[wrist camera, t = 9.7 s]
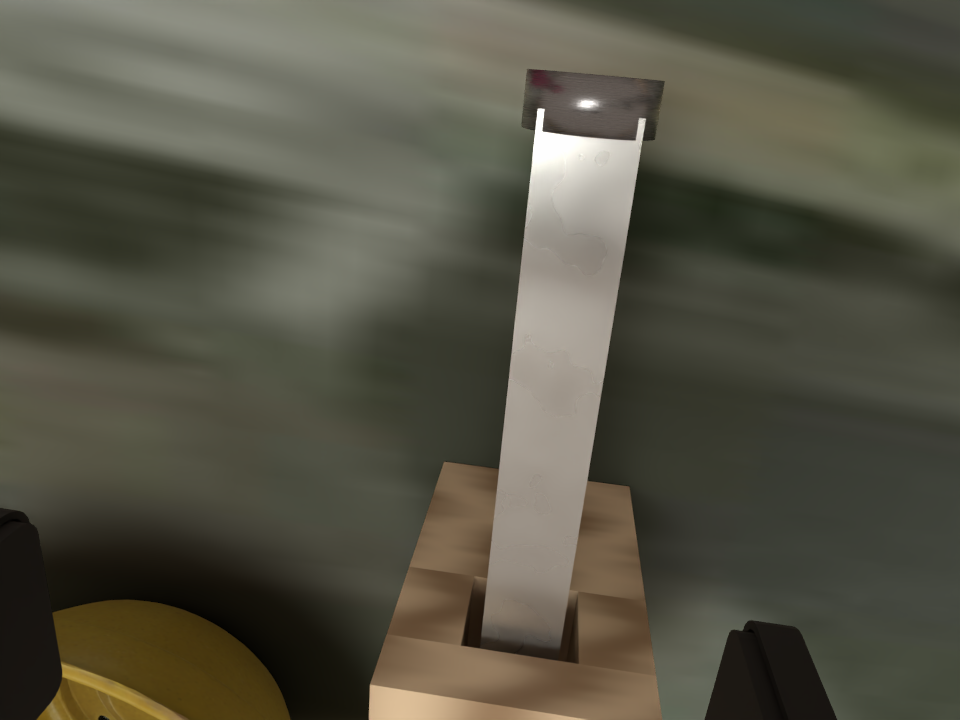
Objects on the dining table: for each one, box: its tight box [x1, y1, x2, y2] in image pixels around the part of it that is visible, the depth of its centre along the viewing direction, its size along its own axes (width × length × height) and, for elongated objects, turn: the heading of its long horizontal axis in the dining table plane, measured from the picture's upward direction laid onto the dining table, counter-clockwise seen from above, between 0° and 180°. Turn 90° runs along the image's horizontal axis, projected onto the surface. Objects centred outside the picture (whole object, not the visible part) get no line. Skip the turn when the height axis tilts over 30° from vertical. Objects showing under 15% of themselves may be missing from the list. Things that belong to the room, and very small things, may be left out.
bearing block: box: [369, 462, 662, 720], centre depth 33 cm, size 10×8×15 cm
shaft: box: [480, 69, 665, 661], centre depth 26 cm, size 4×25×4 cm, turn 175°
